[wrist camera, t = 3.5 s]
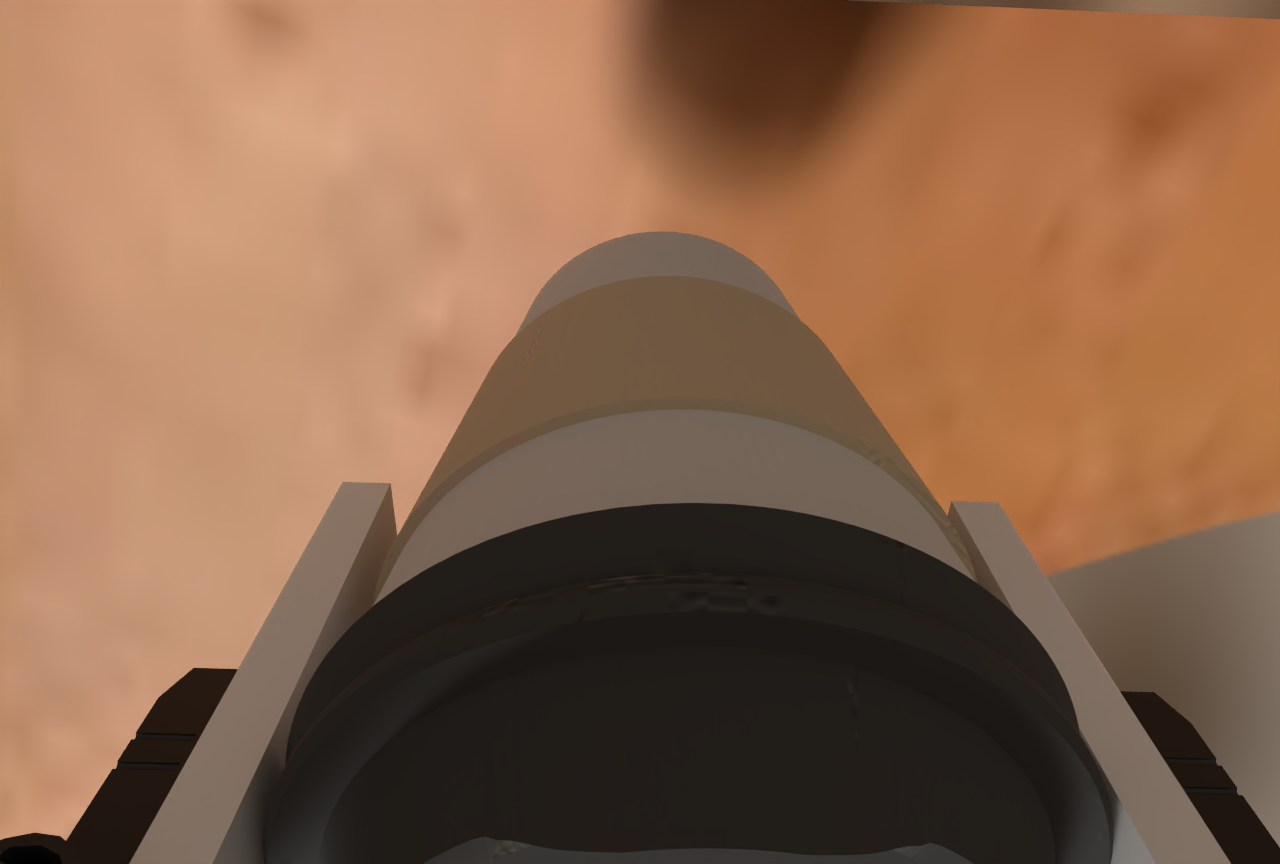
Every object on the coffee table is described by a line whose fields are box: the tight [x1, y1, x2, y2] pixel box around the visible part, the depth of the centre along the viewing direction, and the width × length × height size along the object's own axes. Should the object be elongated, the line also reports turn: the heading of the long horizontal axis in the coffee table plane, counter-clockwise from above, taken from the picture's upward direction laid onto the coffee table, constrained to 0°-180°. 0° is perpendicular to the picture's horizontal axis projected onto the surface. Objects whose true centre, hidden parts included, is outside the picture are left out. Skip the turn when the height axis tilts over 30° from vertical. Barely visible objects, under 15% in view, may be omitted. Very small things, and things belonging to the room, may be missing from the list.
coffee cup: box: [263, 232, 1114, 864], centre depth 14 cm, size 9×9×15 cm
